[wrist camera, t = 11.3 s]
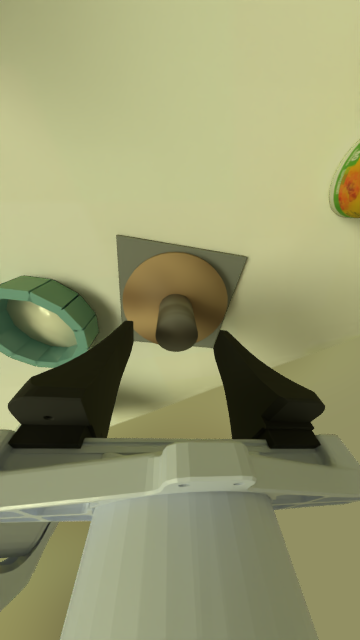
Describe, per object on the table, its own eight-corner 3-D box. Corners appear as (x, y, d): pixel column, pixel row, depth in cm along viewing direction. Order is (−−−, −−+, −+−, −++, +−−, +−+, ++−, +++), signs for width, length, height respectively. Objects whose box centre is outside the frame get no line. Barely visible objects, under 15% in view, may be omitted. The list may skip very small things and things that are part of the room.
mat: (211, 345, 21) (212, 347, 21) (123, 338, 20) (122, 340, 20) (245, 256, 15) (247, 257, 15) (117, 234, 13) (116, 235, 13)
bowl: (102, 352, 21) (93, 370, 19) (22, 346, 20) (1, 364, 18) (90, 284, 16) (75, 296, 13) (-21, 269, 15) (-60, 281, 12)
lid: (209, 344, 21) (220, 380, 16) (126, 337, 19) (112, 374, 15) (240, 261, 15) (270, 281, 10) (122, 242, 13) (96, 255, 9)
